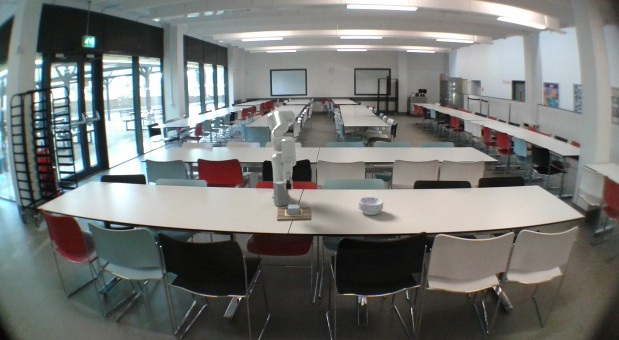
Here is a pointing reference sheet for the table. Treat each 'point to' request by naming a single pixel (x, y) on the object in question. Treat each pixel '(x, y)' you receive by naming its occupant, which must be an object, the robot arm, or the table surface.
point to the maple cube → (291, 184)
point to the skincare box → (280, 194)
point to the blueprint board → (282, 212)
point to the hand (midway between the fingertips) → (288, 187)
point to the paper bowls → (370, 205)
